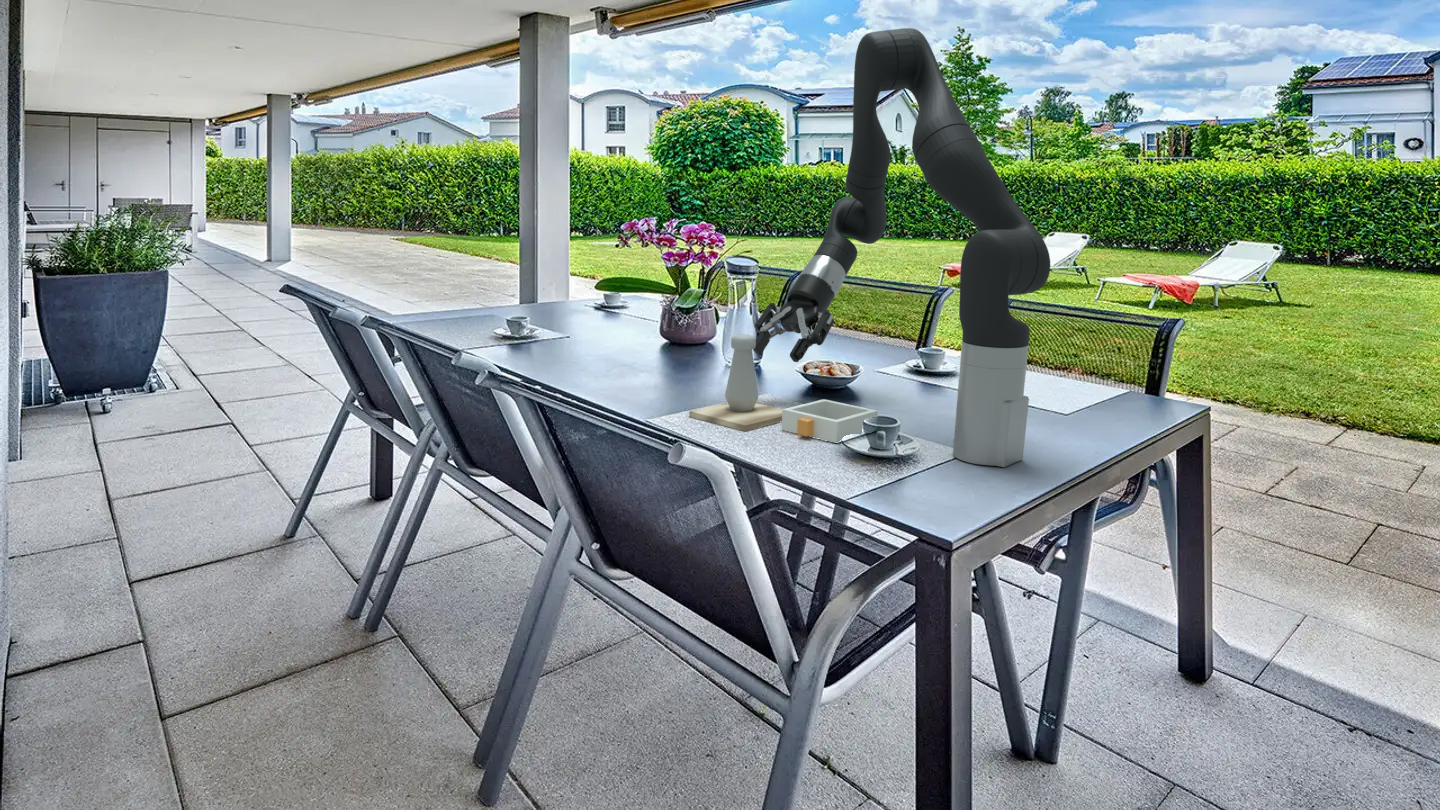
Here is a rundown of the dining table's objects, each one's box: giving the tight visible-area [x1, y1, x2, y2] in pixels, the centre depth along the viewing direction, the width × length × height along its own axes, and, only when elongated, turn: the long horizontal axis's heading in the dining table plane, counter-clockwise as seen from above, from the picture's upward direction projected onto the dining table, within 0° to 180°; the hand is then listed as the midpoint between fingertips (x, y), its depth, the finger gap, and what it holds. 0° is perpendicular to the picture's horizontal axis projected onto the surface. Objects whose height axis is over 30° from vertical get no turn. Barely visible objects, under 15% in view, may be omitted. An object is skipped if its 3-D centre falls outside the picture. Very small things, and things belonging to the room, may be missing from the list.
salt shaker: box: [724, 333, 759, 412], centre depth 153 cm, size 6×6×13 cm
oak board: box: [688, 402, 783, 432], centre depth 153 cm, size 13×13×1 cm
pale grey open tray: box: [781, 398, 879, 442], centre depth 145 cm, size 11×13×4 cm
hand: (774, 355), depth 157 cm, fingers open, 8 cm apart
